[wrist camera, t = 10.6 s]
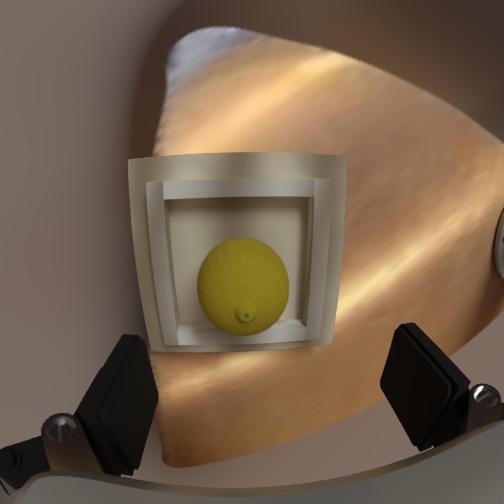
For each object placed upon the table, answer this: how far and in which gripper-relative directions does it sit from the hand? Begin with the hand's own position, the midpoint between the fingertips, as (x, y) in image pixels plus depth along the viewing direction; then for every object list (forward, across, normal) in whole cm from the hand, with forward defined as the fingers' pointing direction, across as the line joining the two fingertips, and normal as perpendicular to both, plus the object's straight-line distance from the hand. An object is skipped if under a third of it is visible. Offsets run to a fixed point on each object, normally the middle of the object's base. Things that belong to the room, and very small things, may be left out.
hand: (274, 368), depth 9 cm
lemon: (+12, +1, 0) cm, 12 cm away
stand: (+15, +1, 0) cm, 15 cm away
